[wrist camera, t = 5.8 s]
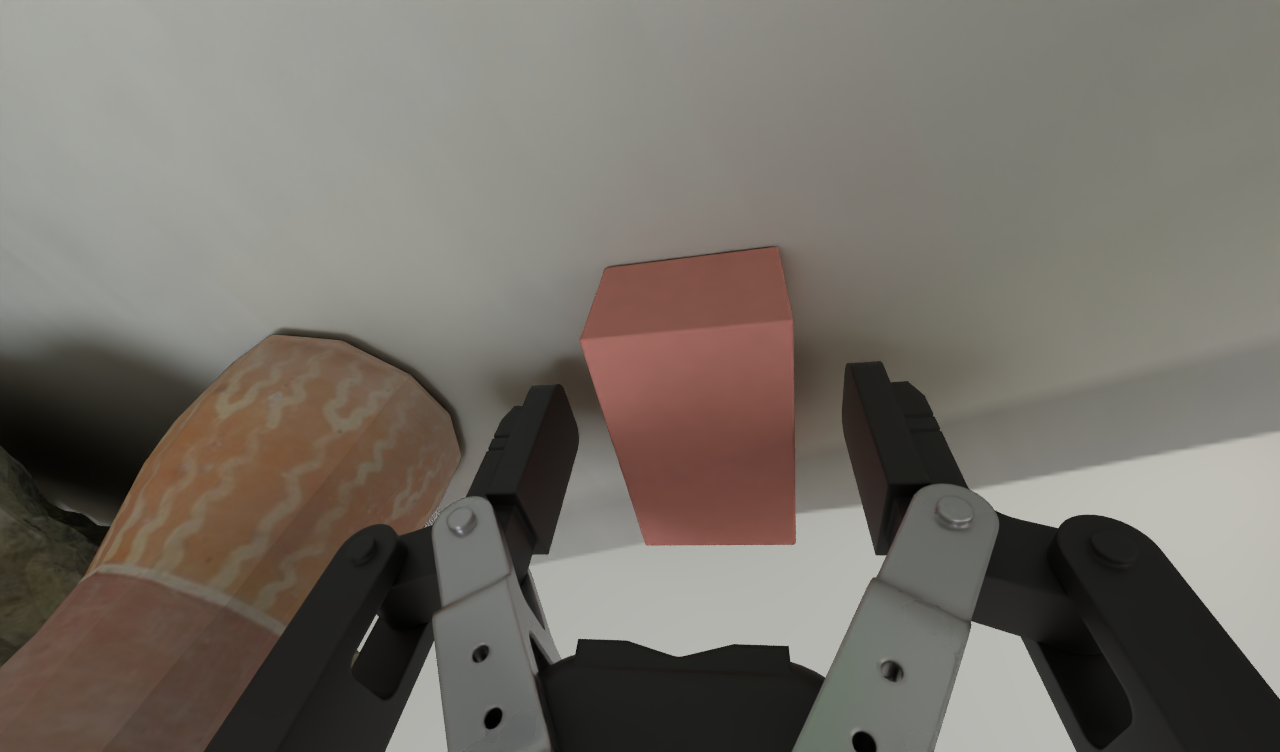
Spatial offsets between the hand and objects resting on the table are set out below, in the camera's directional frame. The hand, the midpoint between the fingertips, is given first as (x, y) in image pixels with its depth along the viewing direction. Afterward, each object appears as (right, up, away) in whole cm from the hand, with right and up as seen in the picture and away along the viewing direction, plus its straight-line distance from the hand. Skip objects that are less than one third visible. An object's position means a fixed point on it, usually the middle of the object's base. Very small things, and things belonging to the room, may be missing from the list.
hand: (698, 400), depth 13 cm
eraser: (0, +1, +1) cm, 1 cm away
